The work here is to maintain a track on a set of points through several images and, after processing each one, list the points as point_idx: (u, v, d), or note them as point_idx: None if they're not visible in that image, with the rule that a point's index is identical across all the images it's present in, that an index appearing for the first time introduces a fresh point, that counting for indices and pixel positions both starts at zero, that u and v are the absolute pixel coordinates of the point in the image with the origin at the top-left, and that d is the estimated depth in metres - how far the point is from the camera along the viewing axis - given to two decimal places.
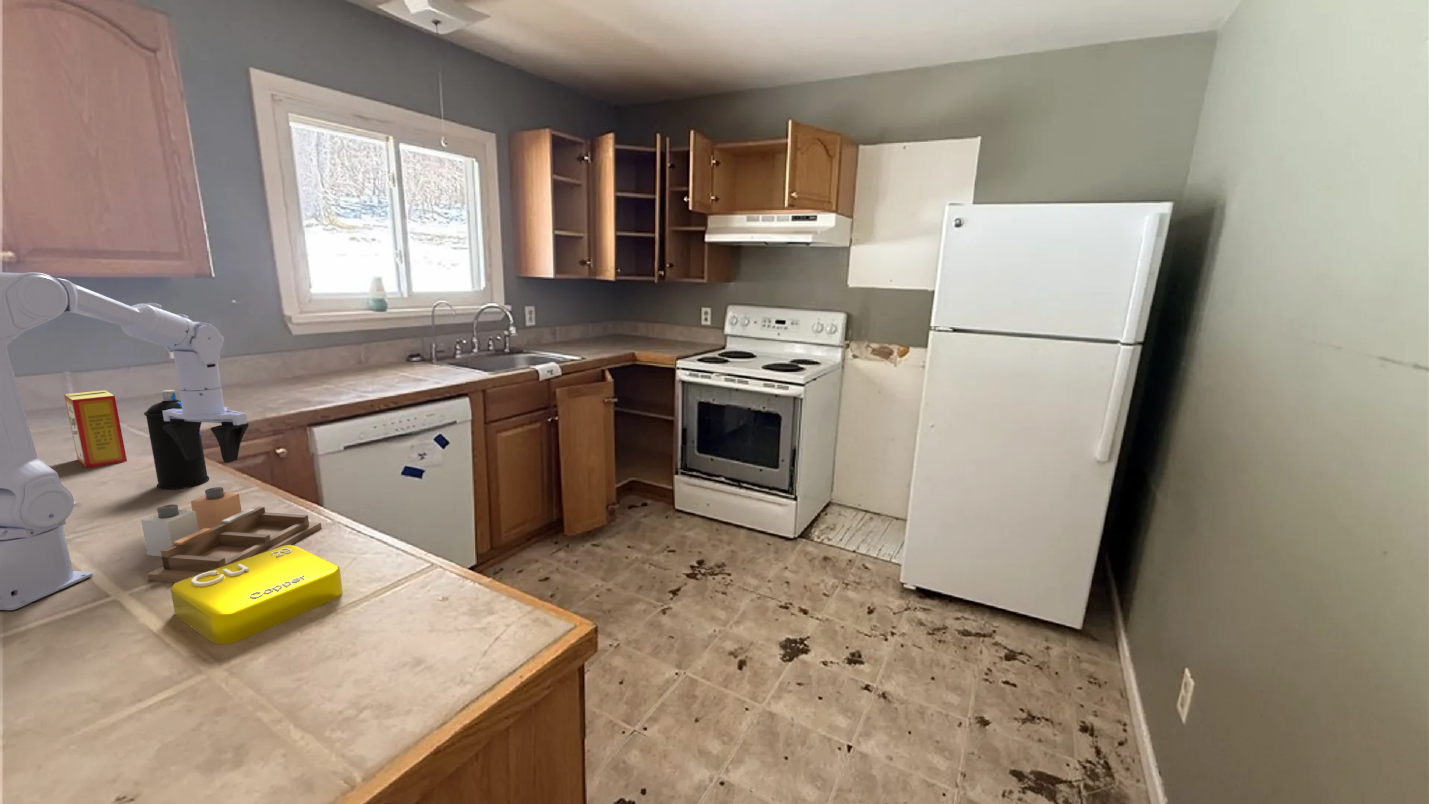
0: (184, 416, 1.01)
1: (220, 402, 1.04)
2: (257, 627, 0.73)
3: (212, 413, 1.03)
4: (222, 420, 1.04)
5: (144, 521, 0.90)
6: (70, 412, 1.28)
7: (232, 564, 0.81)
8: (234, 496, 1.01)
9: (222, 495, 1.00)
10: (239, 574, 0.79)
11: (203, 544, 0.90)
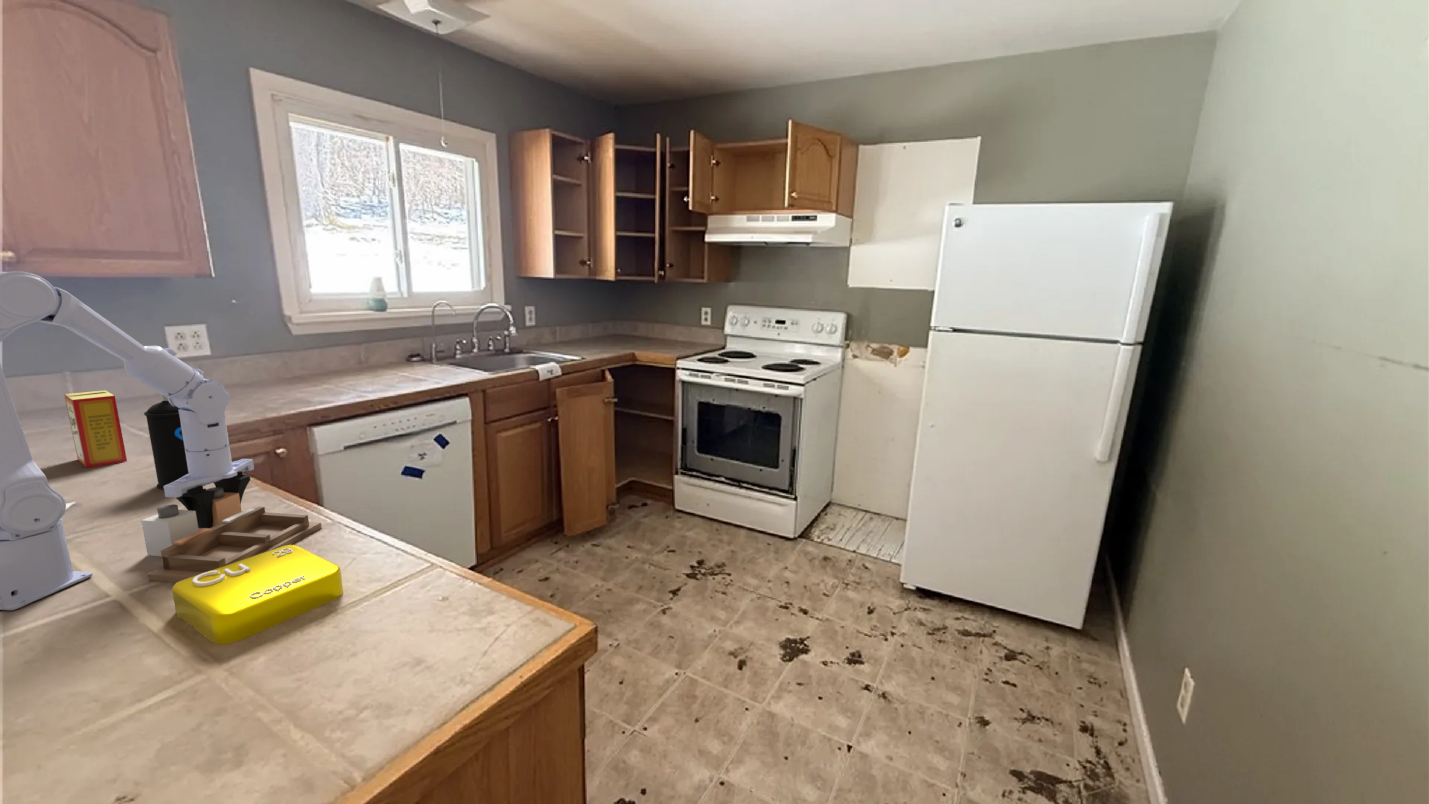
0: None
1: (197, 467, 0.95)
2: (257, 627, 0.73)
3: (190, 476, 0.96)
4: (190, 486, 0.95)
5: (144, 521, 0.90)
6: (70, 412, 1.29)
7: (233, 564, 0.81)
8: (234, 496, 1.01)
9: (222, 495, 1.00)
10: (240, 574, 0.79)
11: (203, 544, 0.90)
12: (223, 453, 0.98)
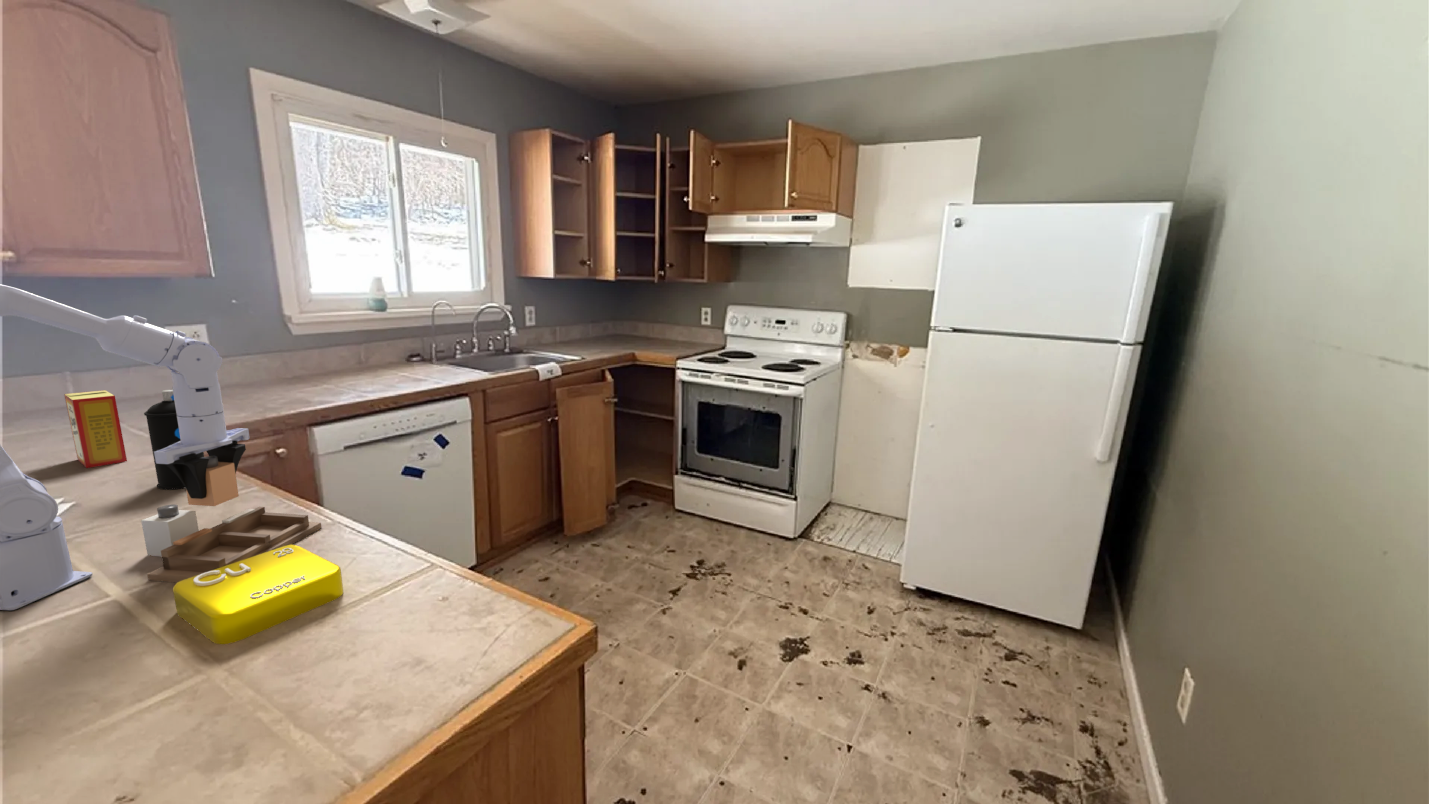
0: None
1: (189, 433, 0.90)
2: (257, 627, 0.73)
3: (182, 442, 0.91)
4: None
5: (144, 521, 0.90)
6: (70, 412, 1.29)
7: (234, 564, 0.81)
8: (229, 465, 0.96)
9: (216, 464, 0.95)
10: (241, 574, 0.79)
11: (203, 544, 0.90)
12: (217, 419, 0.93)
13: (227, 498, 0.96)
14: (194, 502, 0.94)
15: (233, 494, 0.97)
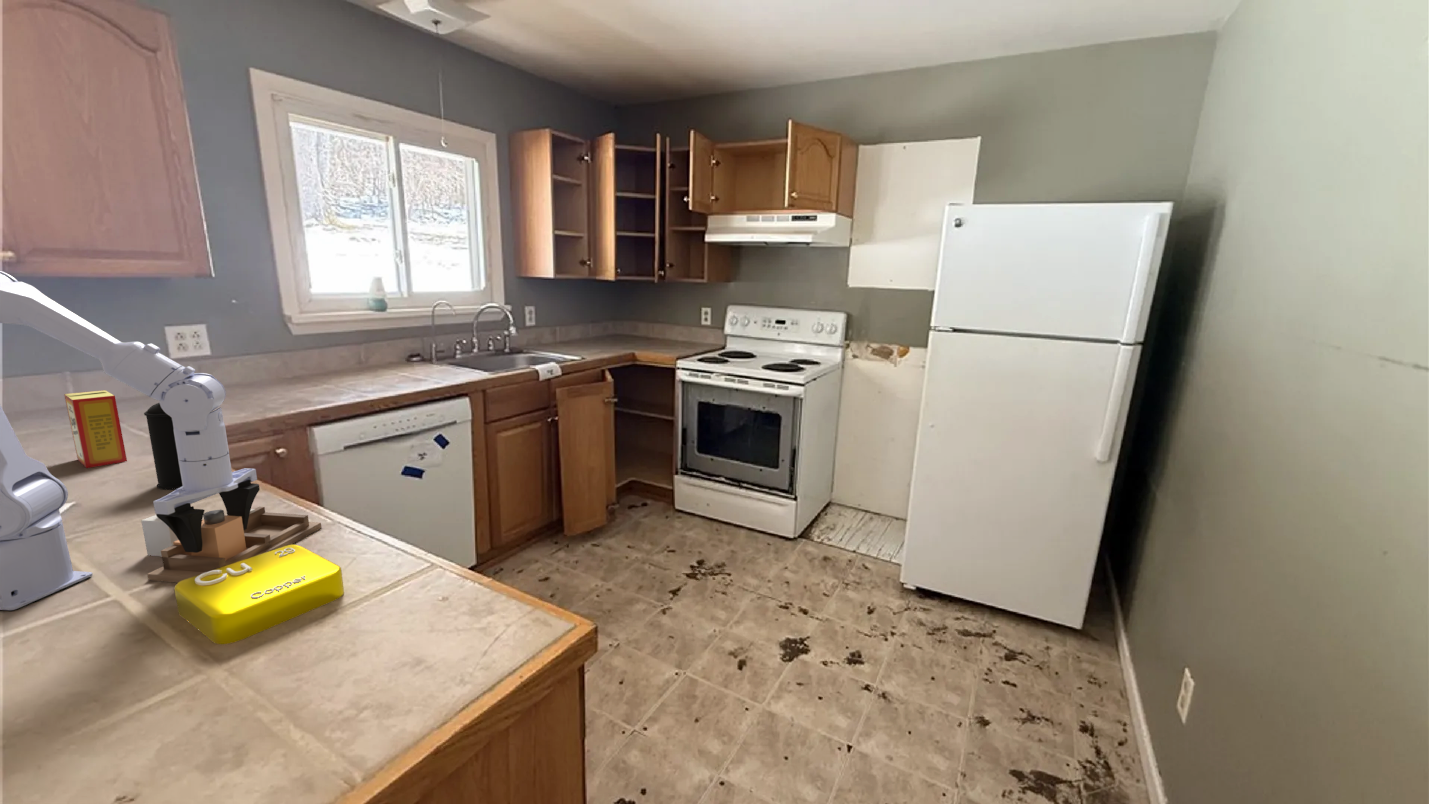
0: None
1: (192, 479, 0.83)
2: (257, 627, 0.72)
3: (184, 489, 0.84)
4: (184, 500, 0.83)
5: (144, 521, 0.90)
6: (70, 412, 1.29)
7: (236, 563, 0.82)
8: (236, 520, 0.89)
9: (222, 519, 0.88)
10: (242, 573, 0.79)
11: None
12: (222, 463, 0.86)
13: (234, 555, 0.89)
14: None
15: (240, 550, 0.90)
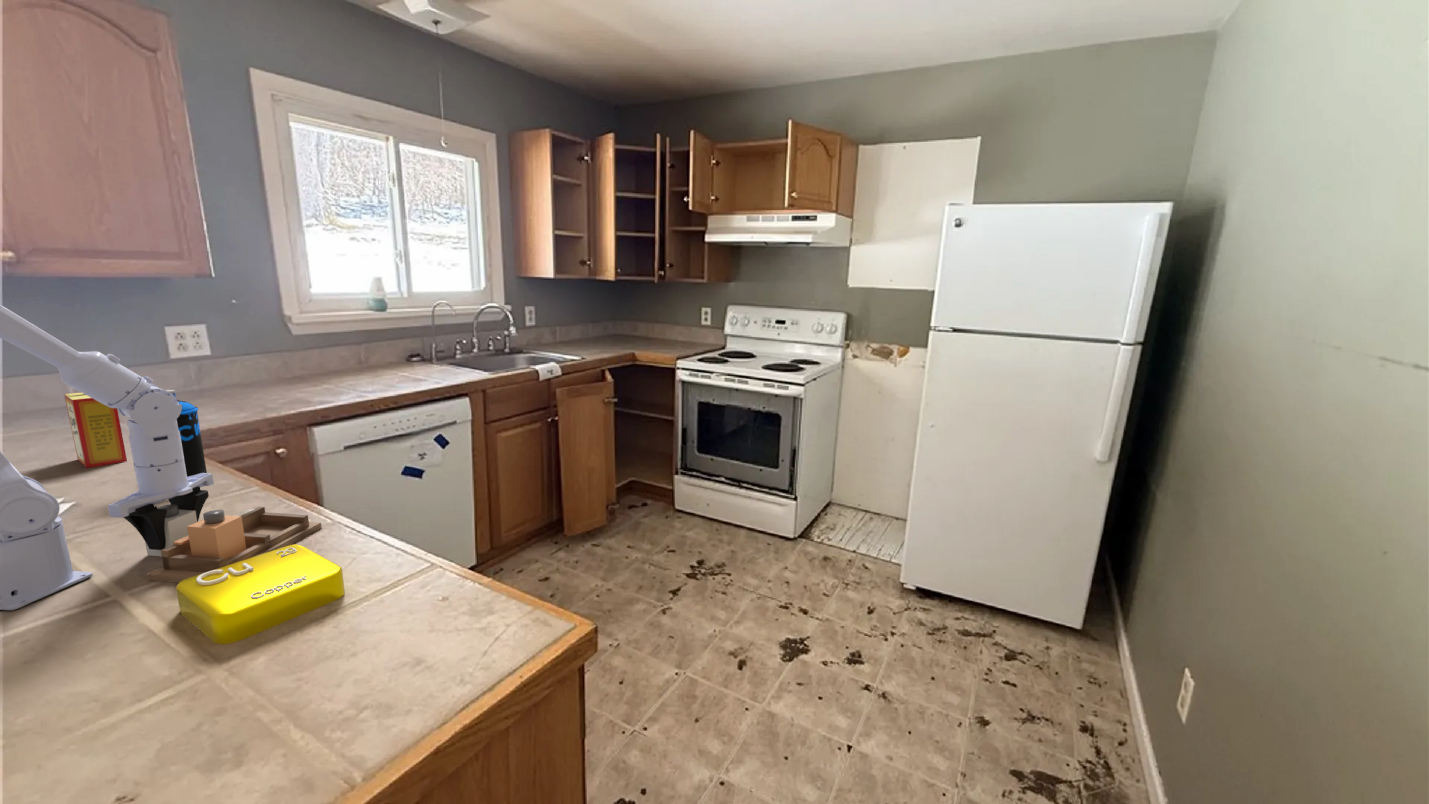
0: None
1: (147, 484, 0.88)
2: (257, 627, 0.72)
3: (139, 493, 0.88)
4: (139, 504, 0.87)
5: None
6: (70, 412, 1.29)
7: (238, 563, 0.82)
8: (236, 520, 0.89)
9: (222, 519, 0.88)
10: (243, 573, 0.79)
11: None
12: (176, 468, 0.90)
13: (234, 555, 0.89)
14: None
15: (240, 550, 0.90)
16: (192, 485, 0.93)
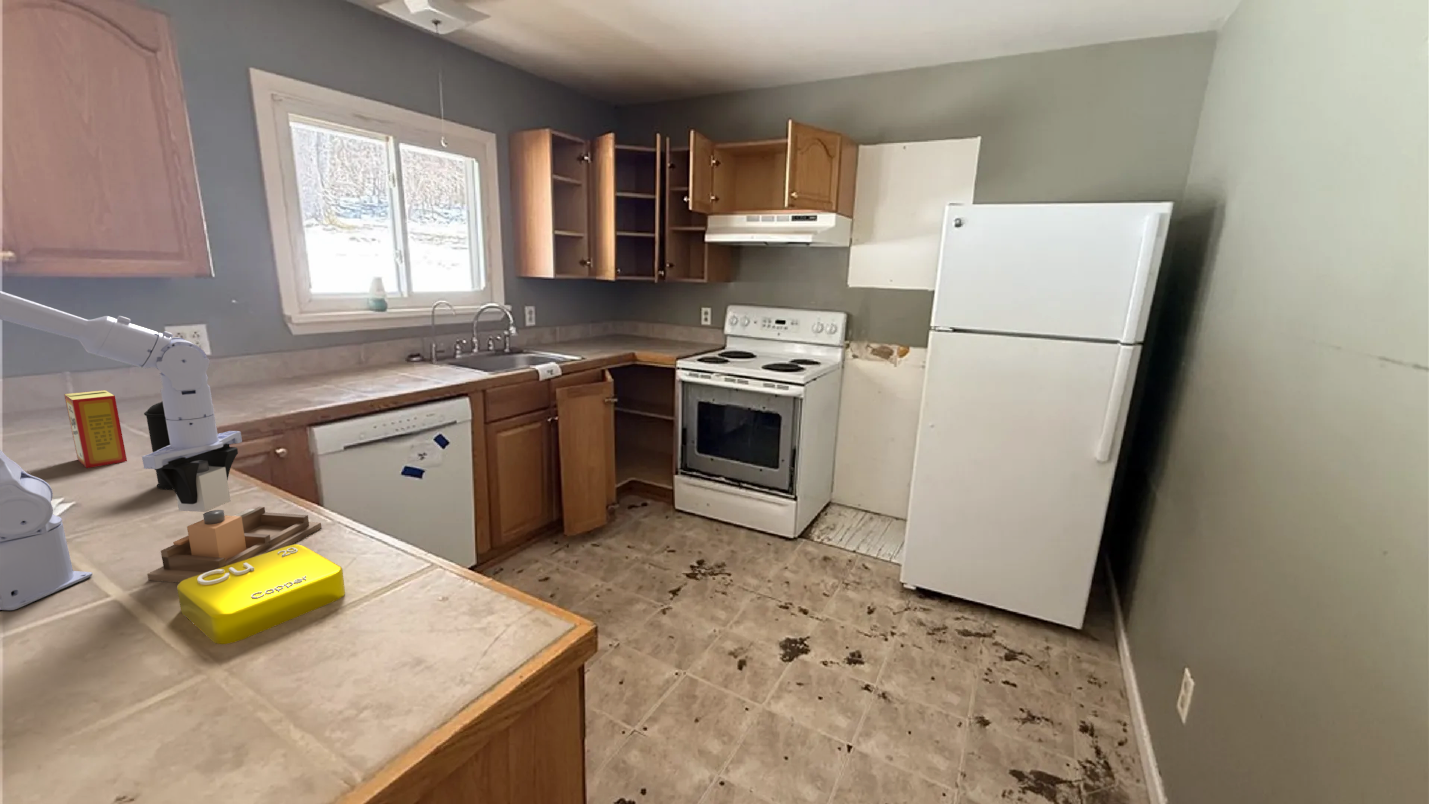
0: None
1: (179, 437, 0.88)
2: (257, 627, 0.72)
3: (171, 446, 0.88)
4: (172, 457, 0.88)
5: None
6: (70, 412, 1.29)
7: (239, 563, 0.82)
8: (236, 520, 0.89)
9: (222, 519, 0.88)
10: (244, 573, 0.79)
11: None
12: (207, 422, 0.90)
13: (234, 555, 0.89)
14: None
15: (240, 550, 0.90)
16: (222, 441, 0.93)
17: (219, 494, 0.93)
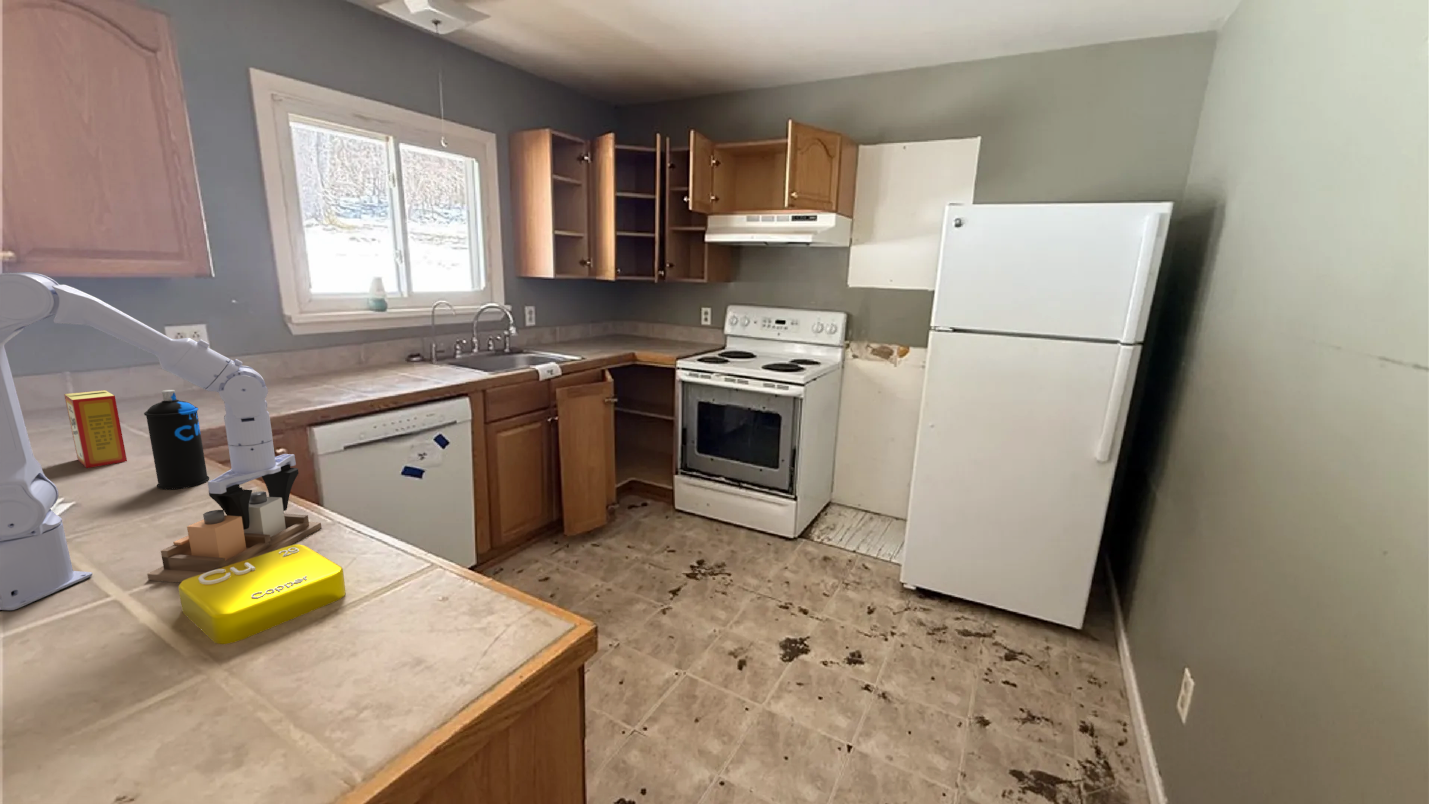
0: None
1: (241, 462, 0.91)
2: (257, 627, 0.72)
3: (233, 471, 0.92)
4: None
5: None
6: (70, 412, 1.29)
7: (240, 562, 0.82)
8: (236, 520, 0.89)
9: (222, 519, 0.88)
10: (245, 573, 0.79)
11: None
12: (267, 447, 0.93)
13: (234, 555, 0.89)
14: None
15: (240, 550, 0.90)
16: (279, 465, 0.96)
17: (276, 524, 0.97)
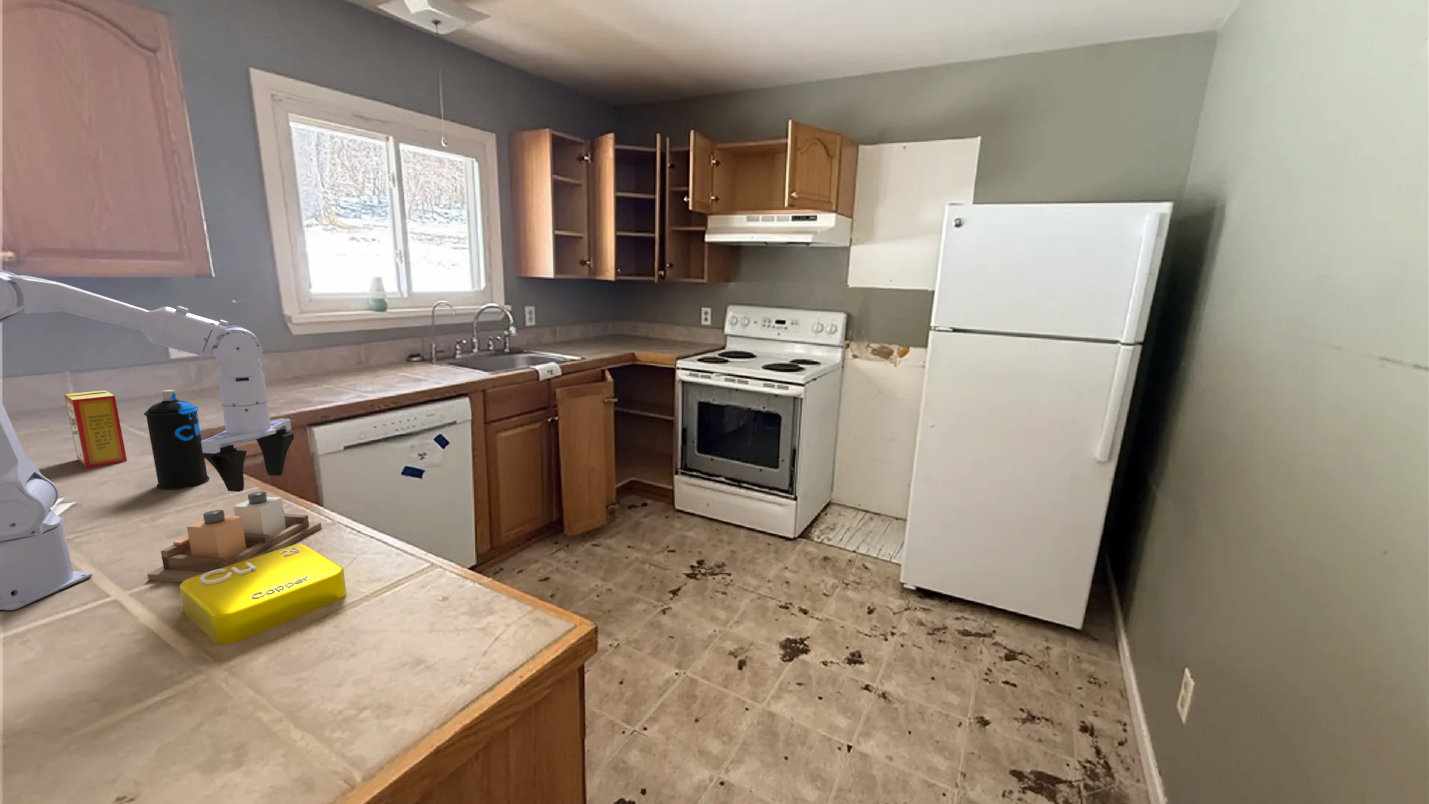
0: None
1: (235, 423, 0.90)
2: (257, 627, 0.72)
3: (227, 432, 0.90)
4: (228, 443, 0.90)
5: (236, 507, 0.93)
6: (70, 412, 1.29)
7: (241, 562, 0.82)
8: (236, 520, 0.89)
9: (222, 519, 0.88)
10: (246, 573, 0.79)
11: None
12: (262, 409, 0.92)
13: (234, 555, 0.89)
14: None
15: (240, 550, 0.90)
16: (274, 427, 0.95)
17: (276, 524, 0.97)
